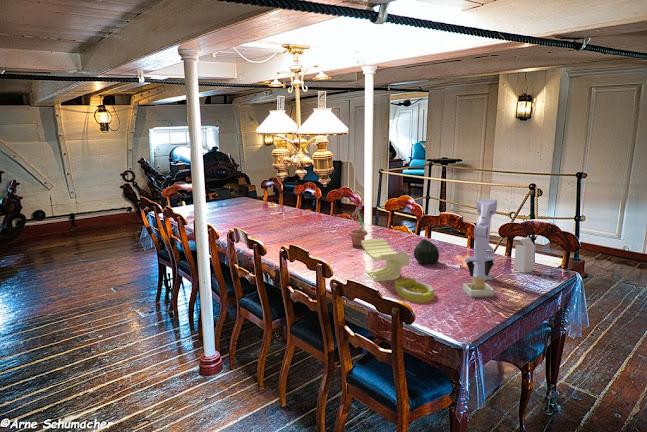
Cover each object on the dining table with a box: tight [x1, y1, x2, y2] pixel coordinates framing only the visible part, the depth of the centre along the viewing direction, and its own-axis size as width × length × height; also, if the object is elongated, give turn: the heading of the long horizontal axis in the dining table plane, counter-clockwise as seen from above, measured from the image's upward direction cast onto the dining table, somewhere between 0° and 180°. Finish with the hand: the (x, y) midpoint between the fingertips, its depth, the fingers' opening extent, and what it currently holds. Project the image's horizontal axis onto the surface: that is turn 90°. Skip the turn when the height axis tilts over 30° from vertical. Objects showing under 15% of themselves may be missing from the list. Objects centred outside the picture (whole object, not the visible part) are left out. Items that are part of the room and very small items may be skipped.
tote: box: [462, 282, 495, 298], centre depth 207 cm, size 10×12×4 cm
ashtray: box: [394, 277, 435, 303], centre depth 208 cm, size 16×21×5 cm
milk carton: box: [513, 237, 536, 274], centre depth 236 cm, size 7×7×19 cm
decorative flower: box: [347, 203, 369, 247], centre depth 295 cm, size 15×14×30 cm
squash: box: [413, 238, 440, 265], centre depth 255 cm, size 14×15×15 cm
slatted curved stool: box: [360, 238, 410, 282], centre depth 232 cm, size 30×16×18 cm, turn 15°
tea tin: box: [471, 276, 486, 290], centre depth 207 cm, size 4×4×7 cm
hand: (478, 275), depth 205 cm, fingers open, 7 cm apart
